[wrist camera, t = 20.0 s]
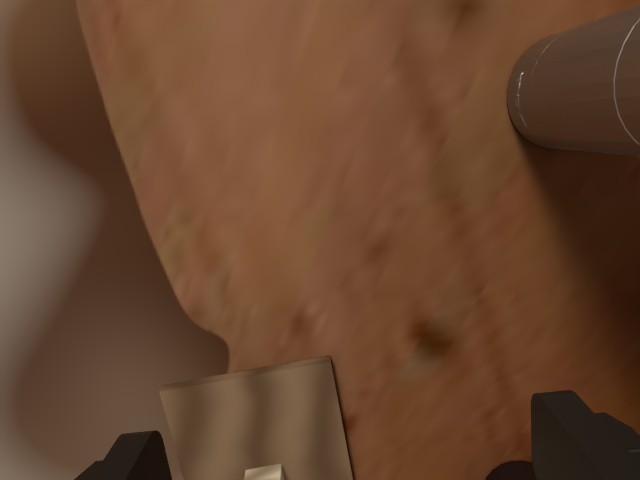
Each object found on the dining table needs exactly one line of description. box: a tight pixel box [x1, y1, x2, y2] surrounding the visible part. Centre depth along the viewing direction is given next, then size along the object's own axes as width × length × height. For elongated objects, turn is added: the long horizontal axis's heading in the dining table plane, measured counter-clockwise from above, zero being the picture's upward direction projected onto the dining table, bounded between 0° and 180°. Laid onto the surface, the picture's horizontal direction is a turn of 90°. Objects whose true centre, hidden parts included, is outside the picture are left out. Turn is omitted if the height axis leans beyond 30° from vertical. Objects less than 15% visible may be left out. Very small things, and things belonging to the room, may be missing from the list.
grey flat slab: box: [159, 356, 353, 480], centre depth 46 cm, size 16×18×1 cm
